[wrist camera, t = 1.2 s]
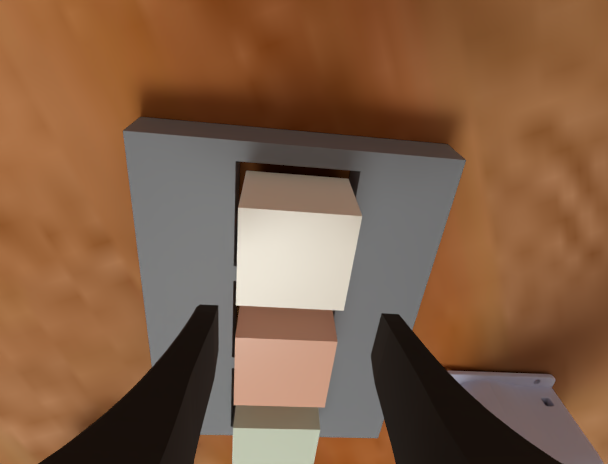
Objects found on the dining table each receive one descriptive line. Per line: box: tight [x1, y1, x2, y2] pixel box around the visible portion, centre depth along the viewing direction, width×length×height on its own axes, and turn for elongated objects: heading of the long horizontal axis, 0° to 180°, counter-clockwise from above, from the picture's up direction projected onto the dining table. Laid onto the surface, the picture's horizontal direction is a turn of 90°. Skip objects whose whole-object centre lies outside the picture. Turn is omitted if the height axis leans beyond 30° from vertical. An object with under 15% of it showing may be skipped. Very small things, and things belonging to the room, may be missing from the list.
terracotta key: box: [234, 306, 338, 408], centre depth 22 cm, size 5×5×4 cm
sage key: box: [232, 405, 320, 464], centre depth 26 cm, size 5×5×4 cm
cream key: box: [236, 171, 362, 311], centre depth 19 cm, size 5×5×4 cm
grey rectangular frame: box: [123, 117, 466, 438], centre depth 25 cm, size 16×22×2 cm
